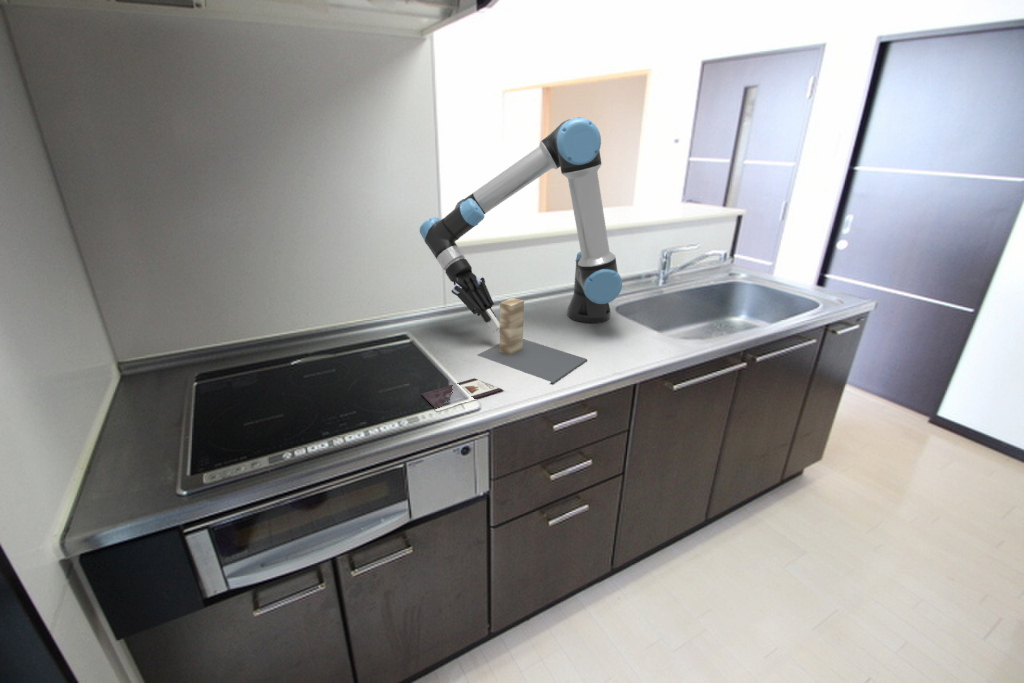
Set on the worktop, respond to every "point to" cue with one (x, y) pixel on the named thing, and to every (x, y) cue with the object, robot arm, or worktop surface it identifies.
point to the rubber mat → (537, 360)
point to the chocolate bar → (471, 386)
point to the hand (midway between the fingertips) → (497, 329)
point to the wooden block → (511, 326)
